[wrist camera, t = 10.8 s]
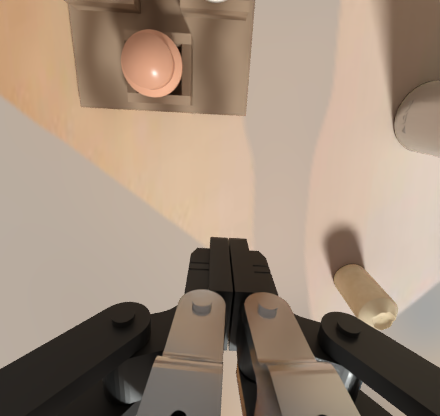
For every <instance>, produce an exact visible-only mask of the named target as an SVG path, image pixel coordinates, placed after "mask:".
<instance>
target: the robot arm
mask: <svg viewBox="0 0 440 416" xmlns="http://www.w3.org/2000/svg"><path fill="white" fill-rule="evenodd" d="M394 128H395V134H396V137H397V139H398V141H399V143H400V144H401V145H402V146H403V147H405V148H406V149H408V150H411V151H414V152H418V153H423V154H427V155H432V156H436V157H440V80H437V81H431V82H427V83H425V84H422V85H420V86H419V87H417V88H415V89H414V90H413V91H412V92H410V93H409V94H408V95H407V96H406V98H405V99H404V100H403V101H402V103H401V105H400V107H399V108H398V111H397V114H396V117H395V123H394ZM227 344H229V350H230V351H237V368H236V377H237V383H238V390H239V396H240V403H241V409H242V415H243V416H392V415H391V414H390V413H389V412H387V411H386V410H385V409H384V408H382V407H381V406H380V405H379V404H377V403H376V402H375V401H374V400H372V399H371V398H370V397H368V396H367V395H366V394H365V393H363V392H362V391H361V390H360V388H361V384H362V382H364V383H365V384H366V385H368V386H369V387H370V388H372V389H373V390H374V391H375V392H377V393H378V394H379V395H381V396H382V397H383V398H385V399H386V400H387V401H388V402H390V403H391V404H392V405H394V406H395V407H396V408H398V409H399V410H400V411H401V412H403V413H404V414H405V415H407V416H440V368H439V367H437V366H436V365H434V364H432V363H431V362H429V361H427V360H426V359H424V358H422V357H421V356H419V355H417V354H416V353H414V352H413V351H411V350H409V349H407V348H406V347H404V346H403V345H401V344H399V343H398V342H396V341H394V340H393V339H391V338H390V337H388V336H386V335H385V334H383V333H381V332H380V331H378V330H376V329H375V328H373V327H371V326H370V325H368V324H367V323H365V322H363V321H362V320H360V319H358V318H356V317H354V316H352V315H350V314H347V313H342V312H330V313H327V314H325V315H324V316H323V318H322V320H321V323H320V322H317V321H313V320H310V319H306V318H303V317H300V316H298V315H295V314H294V313H293V312H292V310H291V308H290V306H289V304H288V303H287V302H286V301H285V300H284V299H282V298H280V297H279V296H278V293H277V290H276V287H275V284H274V281H273V278H272V275H271V274H270V269H269V267H268V263H267V260H266V258H265V257H264V256H263V255H262V254H261V253H260V252H259V251H249V248H248V243H247V239H240V238H229V240H228V238H220V237H211V238H210V249H208V248H197V249H196V250H195V251H194V252H193V253H192V254H191V257H190V264H189V270H188V275H187V282H186V288H185V294H184V295H183V296H182V297H181V298H180V300H179V303H178V305H177V306H175V307H174V308H172V309H170V310H167V311H164V312H160V313H155V314H150V312H149V310H148V309H147V308H146V307H145V306H144V305H142V304H139V303H135V302H123V303H119V304H116V305H113V306H111V307H109V308H107V309H105V310H103V311H102V312H100V313H98V314H96V315H95V316H93V317H91V318H90V319H88V320H86V321H84V322H82V323H81V324H79V325H77V326H75V327H74V328H72V329H70V330H68V331H67V332H65V333H63V334H61V335H60V336H58V337H56V338H54V339H52V340H51V341H49V342H47V343H45V344H44V345H42V346H40V347H38V348H37V349H35V350H33V351H32V352H30V353H28V354H26V355H25V356H23V357H21V358H19V359H17V360H16V361H14V362H12V363H10V364H9V365H7V366H5V367H3V368H1V369H0V416H220V415H221V397H222V396H221V395H222V377H223V351H224V350H227Z"/></svg>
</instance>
